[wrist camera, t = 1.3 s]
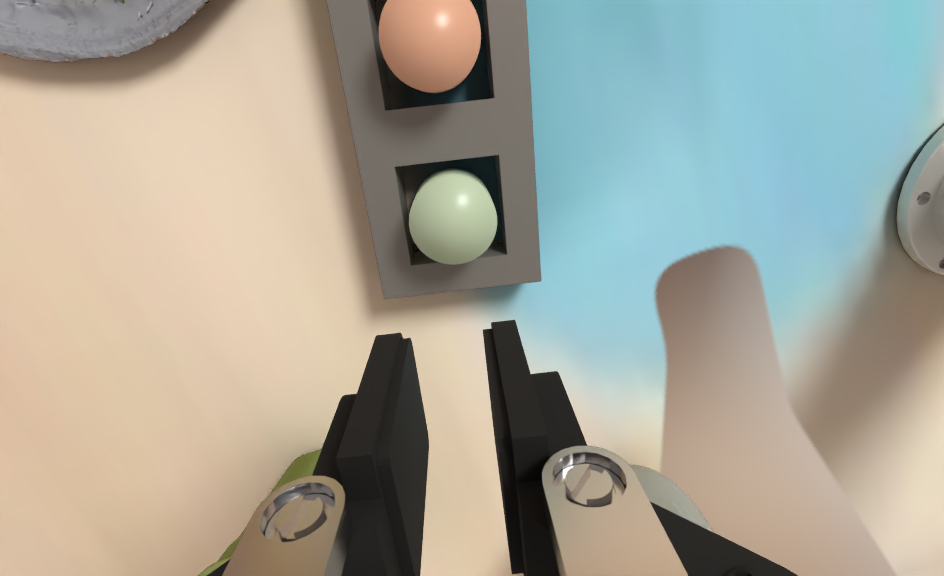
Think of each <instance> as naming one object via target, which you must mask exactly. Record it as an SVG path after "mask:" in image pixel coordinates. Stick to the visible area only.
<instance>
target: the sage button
mask: <svg viewBox="0 0 944 576" xmlns="http://www.w3.org/2000/svg"><path fill="white" fill-rule="evenodd" d="M409 228H410V233H411V236H412V238H413V240H414V242H415V244H416V245H417V247H418V248H419V249H420V250H421V251H422V252H423V253H424V254H425V255H426V256H428V257H429V258H431V259H433V260H435V261H437V262H440V263H444V264H452V265H455V264H463V263H467V262H470V261H472V260H474V259H476V258H477V257H479V256H480V255H481V254H483V253H484V252H485V251H486V250H487V249H488V247H489V246H490V245H491V243H492V241H493V239H494V236H495V234H496V230H497V214H496V209H495V206H494V204H493V201H492V199H491V196H490V194H489V192H488V189H487V188H486V186H485V184H484V183H483V182H482V181H481V180H480V179H479V178H478V177H477V176H476V175H474V174H473V173H471V172H469V171H467V170H464V169H460V168H446V169H442V170H439V171H437V172H434V173H433V174H431V175H430V176H428V177H427V178H426V179H425V180H424V181H423V183H422V184H421V185H420V187H419V189H418V191H417V193H416V196H415V198H414V201H413V204H412V206H411V209H410V214H409Z"/></svg>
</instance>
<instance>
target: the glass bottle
mask: <svg viewBox="0 0 944 576" xmlns="http://www.w3.org/2000/svg"><path fill="white" fill-rule="evenodd" d="M629 466H630V467H631V468H632V470H633V471H634V472H635V474H636V476H637V478H638V480H639V482H640V484H641V486H642V488H643V490H644V492H645V494H646V496H647V497H648V499H649V501H651V502H653V503H655V504H657V505H659V506H661V507H663V508H665V509H667V510H669V511H671V512H673V513H675V514H677V515H679V516H681V517H683V518H685V519H687V520H689V521H691V522H693V523H695V524H697V525H699V526H701V527H703V528H705V529H707V530H709V531H711V532H713V533H714V531H713V530H712V529H711V527H710V525H709V523H708V522H707V520H706V519H705V517H704V516H703V514H702V513H701V511H700V510H699V509H698V507H697V506H696V505H695V503H694V502H693V501H692V500H691V498H690V497H689V496H688V495H687V494H686V493H685V492H684V491H683V490H682V489H681V488H680V487H679V486H678V485H676V484H675V483H674V482H673V481H671V480H670V479H669V478H667V477H666V476H664V475H662V474H660V473H659V472H657V471H654V470H652V469H649V468H646V467H643V466H638V465H630V464H629Z"/></svg>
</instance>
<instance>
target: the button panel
mask: <svg viewBox="0 0 944 576" xmlns="http://www.w3.org/2000/svg"><path fill="white" fill-rule="evenodd" d="M327 5H328V10H329V16H330V21H331V26H332V31H333V36H334V41H335V47H336V52H337V57H338V62H339V67H340V72H341V78H342V83H343V88H344V93H345V98H346V103H347V109H348V114H349V119H350V124H351V129H352V134H353V140H354V145H355V150H356V155H357V160H358V165H359V171H360V176H361V181H362V186H363V191H364V196H365V202H366V207H367V212H368V217H369V222H370V227H371V233H372V238H373V243H374V248H375V253H376V258H377V264H378V269H379V274H380V279H381V284H382V289H383V295H384V299H389V298H398V297H407V296H416V295H424V294H433V293H442V292H451V291H460V290H468V289H477V288H486V287H495V286H504V285H512V284H521V283H530V282H539V281H541V269H540V250H539V232H538V213H537V195H536V176H535V158H534V140H533V121H532V103H531V84H530V66H529V47H528V29H527V10H526V0H482V6H483V18H484V30H485V42H486V53H487V65H488V77H489V89H490V99H483V100H474V101H465V102H456V103H448V104H439V105H430V106H422V107H413V108H404V109H396V110H392V108H391V102H390V95H389V89H388V83H387V77H386V70H385V64H384V58H383V54H382V51H381V47H380V43H379V27H378V21H377V14H376V8H375V2H374V0H327ZM493 155H495V159H496V171H497V183H498V195H499V207H500V218H501V230H502V241H501V242H492V243H491V245H490V246H489V247H488V249H487V250H486V251H485V252H484V253H483V254H481V255H480V256H479V257H477V258H476V259H474V260H472V261H470V262H467V263H463V264H455V265H452V264H444V263H440V262H437V261H435V260H433V259H431V258H429V257H428V256H426V255H425V254H424V253H423V252H422V251H414V245H413V239H412V236H411V233H410V228H409V214H408V208H407V202H406V195H405V189H404V183H403V177H402V170H401V166H406V165H415V164H423V163H432V162H441V161H450V160H458V159H467V158H476V157H484V156H493Z"/></svg>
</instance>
